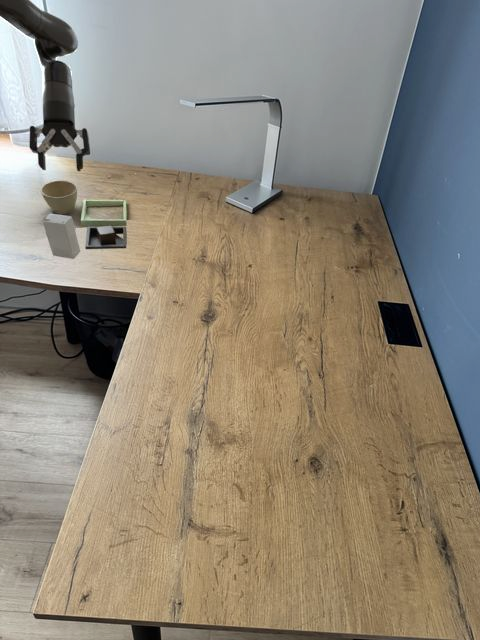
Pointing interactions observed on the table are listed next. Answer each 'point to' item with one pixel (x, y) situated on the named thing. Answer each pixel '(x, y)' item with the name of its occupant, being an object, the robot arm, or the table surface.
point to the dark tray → (94, 244)
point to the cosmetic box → (61, 236)
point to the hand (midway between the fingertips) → (61, 169)
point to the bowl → (60, 196)
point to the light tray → (90, 222)
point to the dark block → (106, 235)
